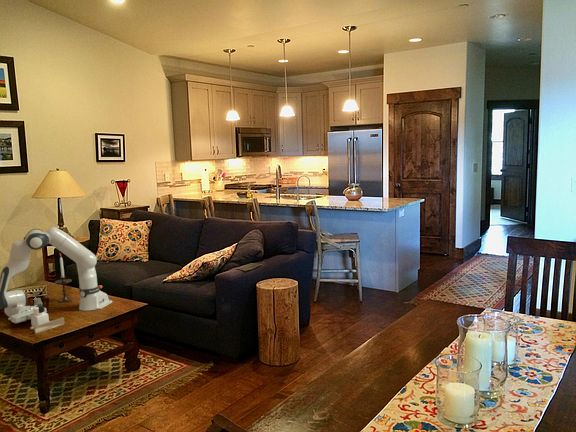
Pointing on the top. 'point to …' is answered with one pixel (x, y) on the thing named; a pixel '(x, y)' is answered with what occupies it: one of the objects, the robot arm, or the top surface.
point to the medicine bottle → (39, 316)
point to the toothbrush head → (37, 301)
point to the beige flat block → (48, 325)
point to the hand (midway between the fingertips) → (36, 317)
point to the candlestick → (63, 283)
